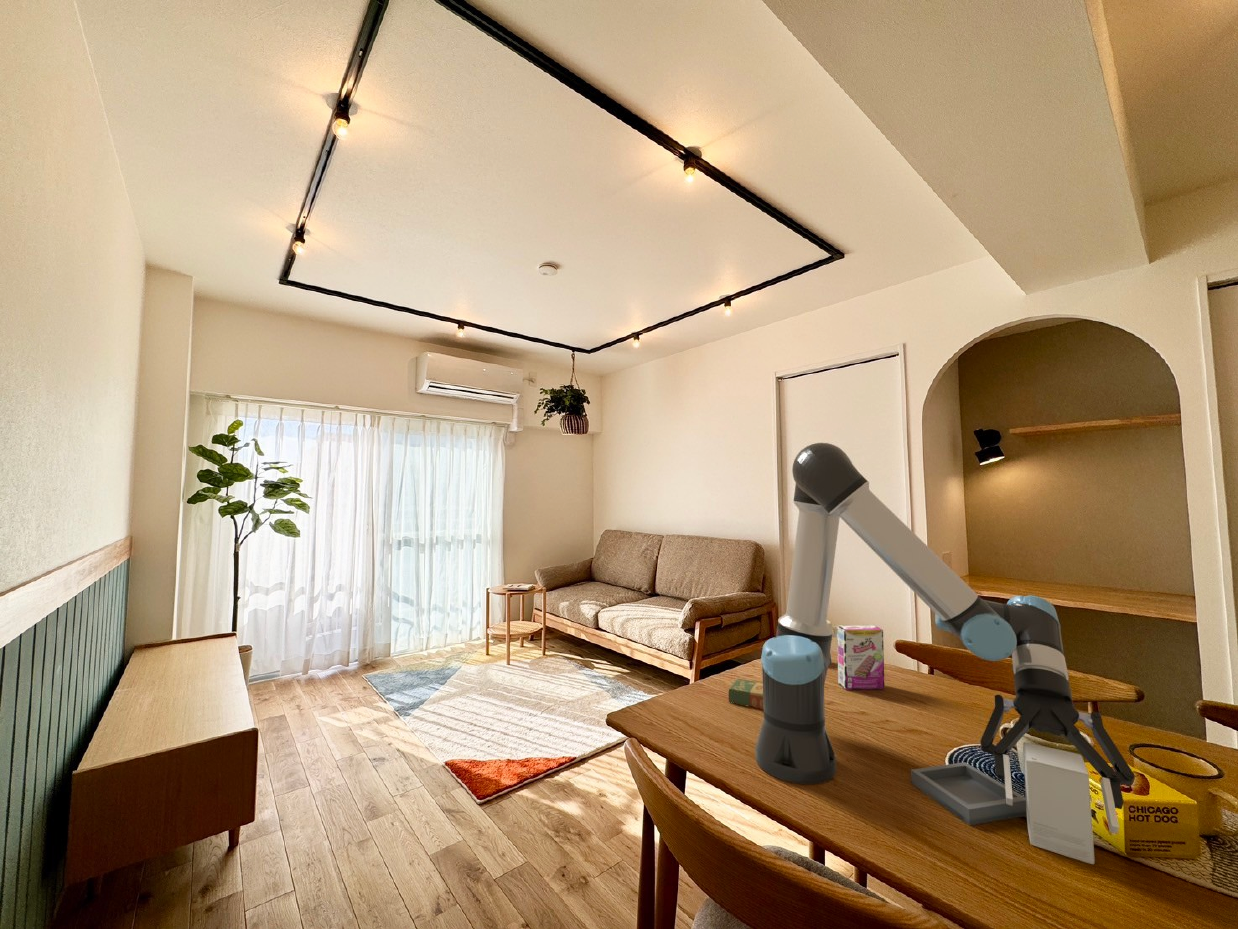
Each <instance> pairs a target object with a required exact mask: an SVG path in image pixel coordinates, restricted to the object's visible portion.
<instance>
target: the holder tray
mask: <svg viewBox="0 0 1238 929" xmlns="http://www.w3.org/2000/svg"><path fill="white" fill-rule="evenodd" d="M910 780H911V781H910V782H911V783H910V784H911V785H912V786H913V787H915V788H917V789H918V790H920V791H921V792H922V793H924V794H925V795H926V796H928V797H929V798H931V800H933V801H934V802H936V803H937V804H939V805H940V806H941V807H943V808H945V809H946V811H947V810H948V811H949V813H951V814H952V815H954V816H955V817H957V818H958V819H959V820H961V821H963V823H965V824H966V825H969V826H976V825H981V824H982V825H983V824H987V823H994V822H998V821H1004V820H1010V819H1016V818H1023V817H1027V808H1026V796H1023V795H1022V794H1020V793H1018V792H1017V791H1015V790H1014V789H1012V797H1013V806H1011V805H1008V804H1006V791H1005V784H1003V783H1002V782H1000V781H998V780H996V779H995V778H993V777H991V776H990V775H987V774H986V773H984V772H983V771H982V770H979V769H977V768H976V767H974V766H972V765H970V764H969V763H967V762H965V761H963V762H957V763H951V764H950V763H949V764H948V763H947V764H941V765H937V766H936V765H935V766H934V765H933V766H928V767H922V768H921V767H920V768H915V769H913V768H911V769H910Z"/></svg>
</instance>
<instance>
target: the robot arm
mask: <svg viewBox="0 0 1238 929" xmlns="http://www.w3.org/2000/svg"><path fill="white" fill-rule="evenodd" d="M791 472H792V478H793V481H794V482H795V484H794V486H795V487H794V495H793V504H794V505H795V506H796V507H797V509H798V518H797V519H798V520H797V527H796V533H795V542H794V548H793V549H794V551H793V556H792V564H791V572H790V579H789V580H790V581H789V588H788V595H787V605H786V612H785V614H783V615H782V616H780V617H779V618H778V620H777V626H776V635H775V637H772V638H769V639H768V640H766V641H765V643H764V644H763V646H762V649H761V650H762V652H761V657H760V660H761V661H760V662H761V666H762V673H761V675H762V683H763V709H764V710H763V709H762V710H763V720H762V723H761V727H760V731H759V733H758V737H757V740H756V744H755V761H756V763H757V765H758V766H759V767H760V769H761V770H763V771H764V772H766V773H767V774H768V775H770V776H772V777H775V778H777V779H780V780H782V781H785V782H789V783H793V784H799V785H800V784H801V785H816V784H817V785H818V784H823V783H826V782H828V781H831V780H832V779H833V778H834V777H835V775H836V774H837V758H836V754H835V751H834V749H833V746H832V743H831V740H830V737H829V734H828V732H827V728H826V714H825V713H826V710H825V708H826V706H825V683H826V678H827V673H828V669H829V668H830V665H831V663H830V659H831V660H832V656H831V655H830V654H831V649H832V641H833V637H832V634H833V630H831V628H830V627H829V626H828V624H827V622H826V620H827V619H828V611H829V604H830V597H831V588H832V580H833V573H834V572H833V571H834V566H835V565H834V564H835V557H836V550H837V541H838V534H839V533H838V532H839V524H840V519H841V520H843V522H844V523H846V525H847V526H848V527H849V528H850V529H851V530H852V531H853V532H854V533H855V534H856V535H857V536H858V537H859V538H860V539H861V540H862V541H863V542H864V543H865V544H866V545H867V546H868V547H869V548H870V549H871V550H872V552H874V553H875V554H876V555H877V557H879V558H880V559H881V560H882V561H883V562H884V563H885V564H886V565H887V566H888V567H889V569H890V570H892V572H894V573H895V575H896V576H898V578H900V579H901V581H902V582H903V583H904V584H906V585H907V587H908V588H909V589H911V591H912V592H914V594H915V595H916V596H918V598H919V599H920V600H921V601H922V602H923V603H924V604H925V605H926V606H927V607H928V608H930V610H931V611H932V612H933V613H934V620H935V625H936V627H937V628H938V629H939V630H942V631H945V632H946V631H947V632H949V633H951V634H954V635H955V636H957V638H959V640H960V641H961V642H962V644H963V646H964V647H965V648H966V649H968V651H969V652H971V653H972V654H974V655H975V656H976V657H978V658H980V659H983V660H986V661H990V662H998V661H1002V660H1006V659H1008V658H1009V657H1010V656H1011V660H1012V671H1013V674H1014V675H1013V679H1014V681H1013V682H1014V690H1015V697H1014V699H1010V698H1009V699H1008V698H1004V697H1003V696H1002V695H1001V694H995V695H994V708H993V710H992V713H991V715H990V718H989V720H988V722H987V725H986V727H985V729H984V731H983V734H982V736H981V739H980V741H979V742H980V749H981V751H982V752H984V753H988V754H990V755H991V756H993V759H994V771H995V772H994V773H995V776H996V778H997V779H1000V780H1004V785H1005V791H1006V804H1008V805H1011V806H1013V797H1012V790H1013V788H1012V786H1013V785H1012V777H1011V776H1012V775H1011V764H1010V755H1007V754H1008V753H1009V752H1010V751H1011V750H1012V749H1013V748H1014V747H1015V746H1016V744H1018V742H1019V741H1020V740H1021V739H1022V738H1023V737H1024V736H1025V734H1028V733H1029V731H1030V730H1031V729H1034V730H1035V732H1040V733H1050V734H1052V735H1053V736H1054V735H1055V736H1061V735H1063V736H1064V737H1065V738H1066V739H1067V741H1068V742H1069V743H1072V745H1073V746H1074V747H1075V748H1076V749H1077V751H1078V752H1079V754H1081V755H1082V757H1083V758H1084V759H1086V761H1087V762H1088V763H1089V764H1090V766H1092V768H1093V769H1094V770H1095V771H1096V772H1097V773H1098V775H1099V776H1101V780H1100V789H1101V793H1102V799H1103V804H1104V810H1105V816H1106V820H1107V825H1108V830H1109V834H1114V835H1118V832H1119V831H1120V823H1119V821H1118V816H1117V811H1116V809H1119V810H1122V808H1123V807H1124V797H1123V793H1122V788H1121V786H1123V785H1126V786H1128V787H1129V786H1130V787H1131V786H1132V785H1133V784H1134V781H1135V778H1136V776H1135V773H1134V772H1133V771H1132V769H1131V768H1130V766H1129V764H1128V762H1127V761H1126V759H1125V758H1124V756H1123V755H1122V754H1121V751H1120V750H1119V749H1118V747H1117V745H1116V743H1115V742H1114V741H1113V739H1112V738H1111V737H1110V736H1111V735H1109V733H1108V731H1107V730H1106V729H1105V727H1104V723H1103V719H1102V715H1101V714H1100V713H1099V712H1097V711H1092V712H1091V713H1087V712H1082V711H1081V712H1080V711H1078V710H1077V709H1076V707H1075V705H1074V703H1073V697H1072V696H1073V695H1072V689H1071V685H1070V681H1069V672H1068V668H1067V663H1066V657H1065V652H1064V646H1063V639H1062V634H1061V627H1062V626H1061V624H1060V621H1059V618H1058V613H1057V611H1056V608H1055V607H1054V605H1053V604H1052V603H1051V602H1050V601H1048V600H1047V599H1044V598H1043V597H1040V596H1037V595H1031V594H1030V595H1025V596H1024V595H1016V596H1013V597H1011V598H1009V600H1008V601H1007V603H1002V602H1001V603H999V602H996V601H991V600H986V599H983V598H982V597H980V596H979V594H978V593H977V592H975V591H974V590H973V589H972V588H971V586H969V584H968V583H966V582H965V581H964V580H963V579H962V578H961V577H960V576H959V575H958V574H957V573H956V572H955V571H954V570H953V569H952V568H951V567H949V565H948V564H947V563H945V561H943V560H942V559H941V558H940V557H939V556H938V555H937V554H936V553H935V552H934V551H933V550H932V549H931V548H930V547H929V546H928V545H927V544H926V543H925V542H924V541H923V540H922V539H921V538H920V537H919V536H918V535H916V533H915V532H913V530H912V529H910V528H909V527H908V525H906V523H904V522H903V521H902V519H900V518H899V517H898V516H897V515H896V514H895V513H894V512H893V511H892V510H891V509H889V507H888V506H887V505H885V504H884V503H883V502H882V501H881V500H880V499H879V498H878V497H877V496H876V495H875V494H874V492H872V491H871V490H870V481H868V480H867V479H866V477H864V476H863V475H862V474H861V472H859V471H858V469H857V468H856V466H855V465H854V464H853V462H852V460H851V459H850V458H849V456H848V455H847V453H846V452H845V451H844V450H842V449H841V448H840V447H839V446H837V445H835V444H832V443H829V442H817V443H813V444H812V443H811V444H810V445H807V446H805V447H803V448H802V449H801V450H800V451H799V452H798V453H797V454H796V456H795V458H794V460H793V463H792V470H791ZM1011 709H1014V710H1015V712H1017V714H1018V715H1019V716H1020V717H1019V718H1018V720H1017V722H1016V723H1015V724H1014V725H1012V727H1011V728H1010V729H1009V730H1008V731H1007V732H1006V734H1004V735H1003V737H1002V738H1001V739H1000V740H999V741H998V742H997V744H994V740H995V739H996V736H997V733H998V731H999V729H1000V727H1001V724H1002V721H1003V719H1004V716H1005V714H1004V713H1009V712H1010V710H1011ZM1078 721H1080V722H1081V723H1083V725H1084V726H1085V728H1087V729H1089V730H1091V734H1092V735H1093V737H1094V739H1095V740H1096V742H1097V743H1098V745H1099V746H1100V749H1101V750H1102V752H1103V753H1104V755H1105V757H1106V758H1107V760H1108V761H1109V763H1110V764H1109V763H1108V762H1107V761H1106V760H1105V759H1104V758H1103V757H1102V755H1101V754H1100V753H1099V752H1098V751H1097V750H1096V749H1095V748H1094V747H1093V746H1092V745H1091V743H1090V741H1088V740H1087V739H1086V738H1085V737H1084V736H1083V735H1082V733H1081V732H1080V730H1079V729H1078V727H1077V726H1076V723H1077V722H1078ZM1110 765H1111V766H1110Z"/></svg>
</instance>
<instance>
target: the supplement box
mask: <svg viewBox="0 0 1238 929" xmlns="http://www.w3.org/2000/svg"><path fill="white" fill-rule="evenodd" d="M1022 750H1023V770H1024V786H1025V787H1024V788H1025V791H1024V792H1025V798H1026V808H1027V816H1026V821H1027V822H1026V824H1027V831H1028V836H1029V838H1028V839H1029V843H1030V845H1031V846H1034V847H1037V848H1041V849H1043V850H1045V851H1050V852H1052V853H1056V854H1059V855H1062V856H1065V857H1068V858H1071V859H1073V860H1077V861H1081V862H1083V863H1087V864H1090V865H1094V864H1095V848H1094V847H1095V846H1094V836H1093V835H1094V833H1093V819H1092V807H1091V790H1090V774H1089V771H1088V769H1087V765H1086V763H1085V759H1084V756H1083V755H1082V754H1081V753H1075V752H1072V751H1067V750H1064V749H1063V750H1062V749H1058V748H1054V747H1053V748H1052V747H1048V746H1044V745H1039V744H1034V743H1029V742H1025V741H1023V749H1022Z"/></svg>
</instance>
